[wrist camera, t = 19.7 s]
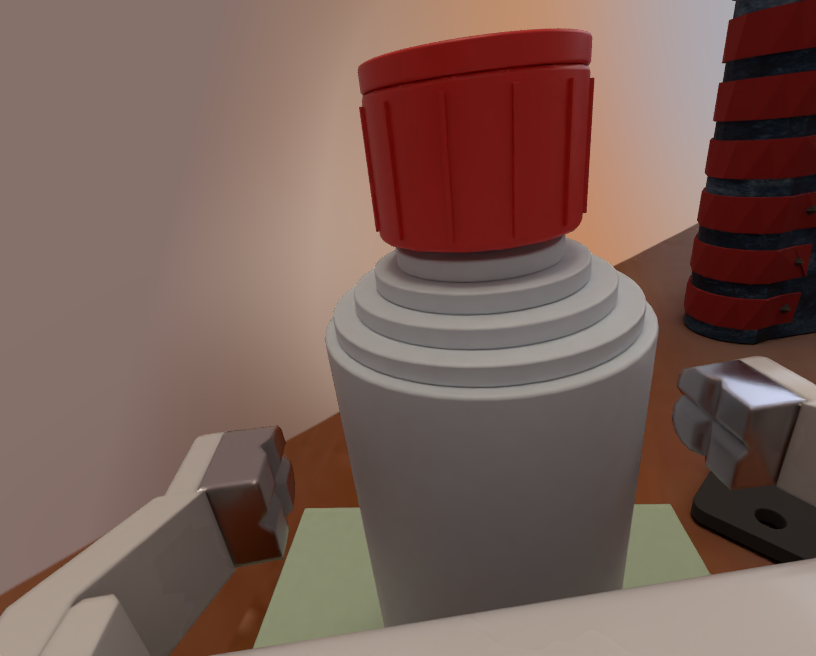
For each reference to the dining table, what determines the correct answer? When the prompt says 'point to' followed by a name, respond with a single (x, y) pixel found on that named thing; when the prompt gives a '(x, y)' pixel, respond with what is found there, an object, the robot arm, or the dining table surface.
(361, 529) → the mat
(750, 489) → the black tag with hole
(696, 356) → the dining table surface
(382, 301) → the bottle
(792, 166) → the book
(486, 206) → the cap
